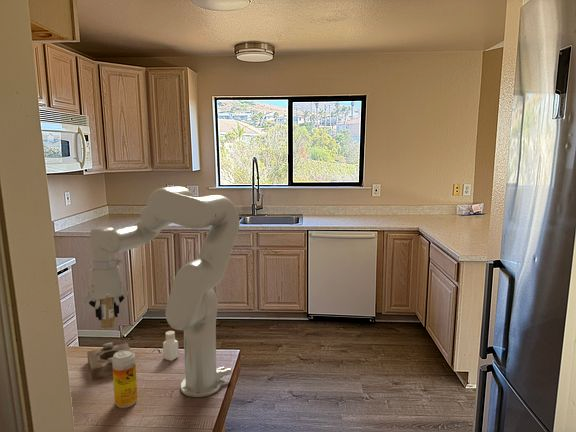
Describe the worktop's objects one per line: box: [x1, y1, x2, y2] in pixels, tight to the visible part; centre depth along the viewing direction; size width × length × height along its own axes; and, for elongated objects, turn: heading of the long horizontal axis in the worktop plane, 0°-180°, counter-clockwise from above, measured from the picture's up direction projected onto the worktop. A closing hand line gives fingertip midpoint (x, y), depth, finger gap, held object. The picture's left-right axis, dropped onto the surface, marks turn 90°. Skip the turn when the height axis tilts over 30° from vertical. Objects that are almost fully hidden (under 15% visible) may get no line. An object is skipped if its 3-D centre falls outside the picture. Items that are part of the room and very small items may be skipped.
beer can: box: [112, 349, 138, 409], centre depth 114 cm, size 6×6×15 cm
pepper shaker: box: [162, 330, 180, 362], centre depth 140 cm, size 4×4×10 cm
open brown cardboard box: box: [86, 342, 131, 382], centre depth 135 cm, size 13×14×6 cm
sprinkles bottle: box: [99, 293, 117, 329], centre depth 132 cm, size 5×5×14 cm
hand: (107, 316), depth 133 cm, fingers closed on sprinkles bottle, 4 cm apart
